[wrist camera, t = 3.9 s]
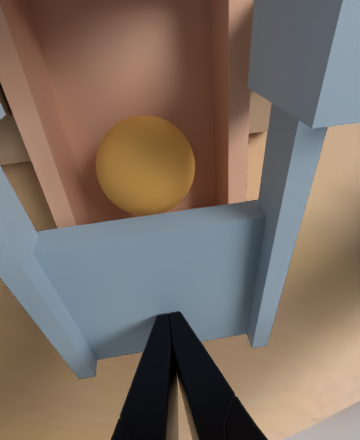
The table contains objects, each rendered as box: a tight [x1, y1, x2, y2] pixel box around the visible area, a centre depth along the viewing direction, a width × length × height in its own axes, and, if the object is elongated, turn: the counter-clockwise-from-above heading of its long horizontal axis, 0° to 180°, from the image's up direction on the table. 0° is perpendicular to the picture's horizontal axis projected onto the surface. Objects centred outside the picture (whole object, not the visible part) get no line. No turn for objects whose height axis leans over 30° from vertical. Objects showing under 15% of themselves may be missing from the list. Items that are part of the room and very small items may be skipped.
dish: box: [0, 0, 254, 228], centre depth 10 cm, size 10×7×3 cm
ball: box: [96, 115, 195, 216], centre depth 9 cm, size 4×4×4 cm
